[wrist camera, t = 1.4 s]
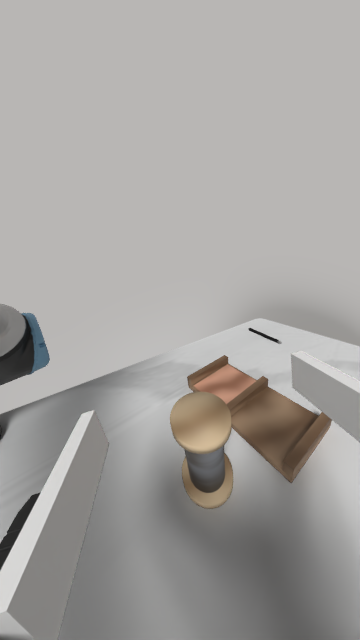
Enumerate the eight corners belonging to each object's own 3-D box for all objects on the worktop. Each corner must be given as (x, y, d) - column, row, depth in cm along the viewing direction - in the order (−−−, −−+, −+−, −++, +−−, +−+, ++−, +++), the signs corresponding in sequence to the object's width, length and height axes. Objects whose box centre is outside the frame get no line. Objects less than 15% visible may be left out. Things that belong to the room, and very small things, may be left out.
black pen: (281, 343, 52) (282, 341, 52) (279, 344, 52) (279, 342, 52) (250, 330, 63) (250, 327, 62) (248, 330, 62) (248, 328, 62)
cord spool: (173, 469, 26) (159, 411, 21) (208, 439, 29) (203, 383, 25) (205, 525, 20) (194, 462, 16) (244, 480, 24) (244, 418, 19)
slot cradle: (188, 387, 41) (187, 376, 40) (224, 364, 46) (224, 355, 45) (291, 483, 23) (293, 469, 22) (329, 427, 28) (333, 414, 27)
